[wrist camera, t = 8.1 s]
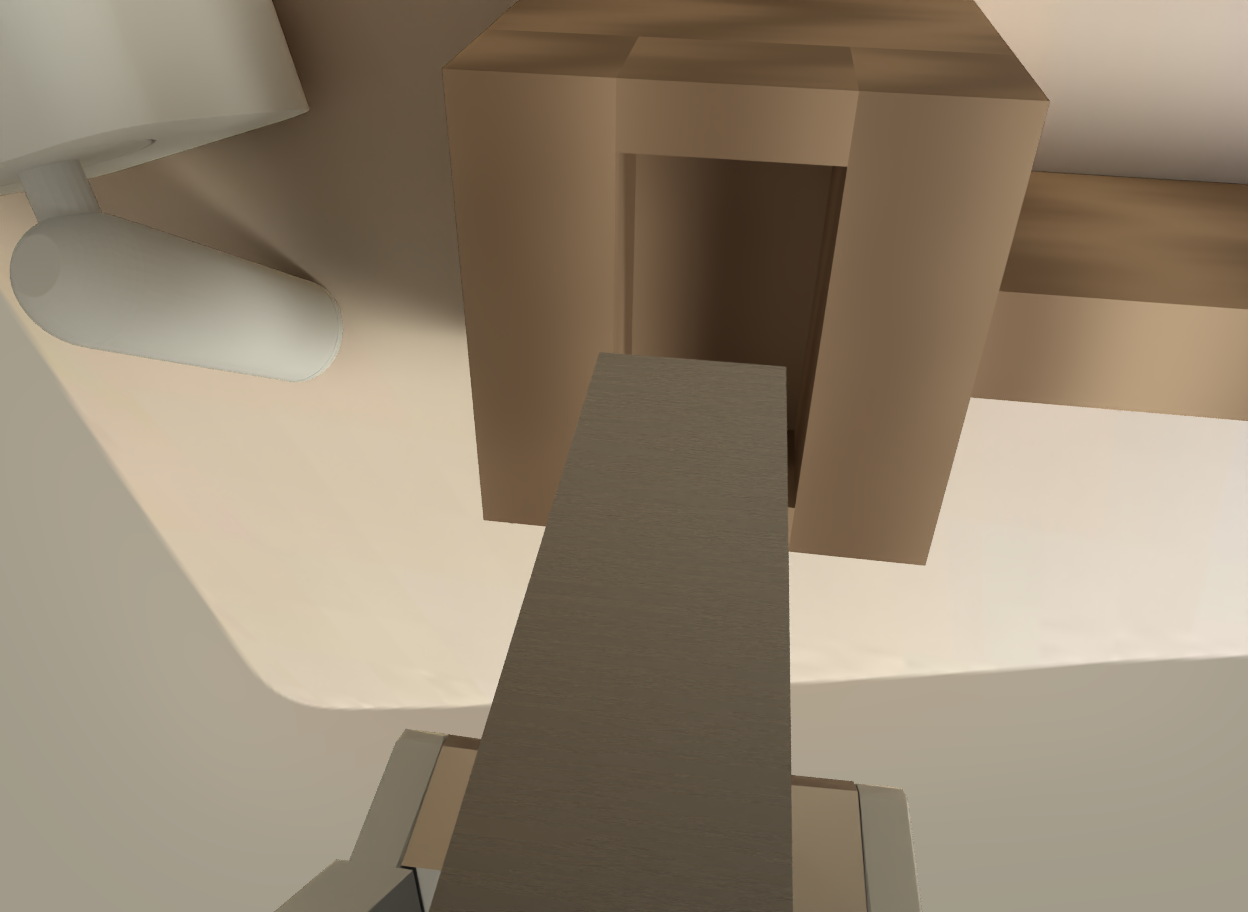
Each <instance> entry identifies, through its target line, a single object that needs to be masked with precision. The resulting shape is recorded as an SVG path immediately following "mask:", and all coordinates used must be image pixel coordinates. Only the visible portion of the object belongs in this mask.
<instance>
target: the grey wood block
mask: <svg viewBox="0 0 1248 912" xmlns="http://www.w3.org/2000/svg"><path fill="white" fill-rule="evenodd" d="M790 719H791V716H790V635H789V555H788V474H787V393H786V367H784V366H771V365H758V364H746V363H733V362H720V361H707V360H695V359H682V358H669V357H656V356H644V355H631V354H618V353H605V352H599V355H598V358H597V361H596V364H595V368H594V371H593V374H592V378H591V381H590V384H589V387H588V391H587V394H586V397H585V401H584V404H583V407H582V410H581V414H580V417H579V420H578V424H577V427H576V430H575V433H574V437H573V440H572V443H571V446H570V450H569V453H568V456H567V460H566V463H565V466H564V469H563V473H562V476H561V479H560V483H559V486H558V489H557V492H556V496H555V499H554V502H553V505H552V509H551V512H550V515H549V519H548V522H547V525H546V528H545V532H544V535H543V538H542V542H541V545H540V548H539V551H538V555H537V558H536V561H535V565H534V568H533V571H532V574H531V578H530V581H529V584H528V587H527V591H526V594H525V597H524V601H523V604H522V607H521V610H520V614H519V617H518V620H517V624H516V627H515V630H514V633H513V637H512V640H511V643H510V647H509V650H508V653H507V656H506V660H505V663H504V666H503V669H502V673H501V676H500V679H499V683H498V686H497V689H496V692H495V696H494V699H493V702H492V706H491V709H490V712H489V715H488V719H487V722H486V725H485V729H484V732H483V735H482V738H481V742H480V745H479V748H478V751H477V755H476V758H475V761H474V765H473V768H472V771H471V774H470V778H469V781H468V784H467V788H466V791H465V794H464V797H463V801H462V804H461V807H460V811H459V814H458V817H457V820H456V824H455V827H454V830H453V833H452V837H451V840H450V843H449V847H448V850H447V853H446V856H445V860H444V863H443V866H442V870H441V873H440V876H439V879H438V883H437V886H436V889H435V892H434V896H433V899H432V902H431V906H430V909H429V912H793V878H792V797H791V720H790Z"/></svg>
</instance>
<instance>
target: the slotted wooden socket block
mask: <svg viewBox="0 0 1248 912" xmlns="http://www.w3.org/2000/svg"><path fill="white" fill-rule="evenodd" d="M442 75H443V86H444V96H445V107H446V118H447V129H448V140H449V150H450V161H451V172H452V183H453V194H454V204H455V215H456V226H457V237H458V248H459V258H460V269H461V280H462V291H463V302H464V312H465V323H466V334H467V345H468V356H469V367H470V377H471V388H472V399H473V410H474V421H475V431H476V442H477V453H478V464H479V475H480V485H481V496H482V507H483V518H484V520H489V521H498V522H508V523H518V524H528V525H537V526H546V525H547V522H548V519H549V515H550V512H551V509H552V505H553V502H554V499H555V496H556V492H557V489H558V486H559V483H560V479H561V476H562V473H563V469H564V466H565V463H566V460H567V456H568V453H569V450H570V446H571V443H572V440H573V437H574V433H575V430H576V427H577V424H578V420H579V417H580V414H581V410H582V407H583V404H584V401H585V397H586V394H587V391H588V387H589V384H590V381H591V378H592V374H593V371H594V368H595V364H596V361H597V358H598V355H599V352H605V353H618V354H631V355H644V356H656V357H669V358H682V359H695V360H707V361H720V362H733V363H746V364H758V365H771V366H784V367H786V393H787V474H788V551H789V552H799V553H808V554H818V555H828V556H838V557H847V558H857V559H867V560H876V561H886V562H896V563H905V564H915V565H925V564H926V561H927V557H928V553H929V549H930V546H931V542H932V538H933V535H934V531H935V527H936V523H937V520H938V516H939V512H940V509H941V505H942V501H943V497H944V494H945V490H946V486H947V482H948V479H949V475H950V471H951V468H952V464H953V460H954V456H955V453H956V449H957V445H958V442H959V438H960V434H961V430H962V427H963V423H964V419H965V416H966V412H967V408H968V404H969V401H970V397H973V398H984V399H996V400H1008V401H1020V402H1032V403H1043V404H1055V405H1067V406H1079V407H1090V408H1102V409H1114V410H1126V411H1137V412H1149V413H1161V414H1173V415H1184V416H1196V417H1208V418H1220V419H1231V420H1243V421H1248V185H1246V184H1229V183H1213V182H1196V181H1180V180H1164V179H1147V178H1131V177H1114V176H1098V175H1081V174H1065V173H1049V172H1032V171H1031V170H1032V166H1033V163H1034V159H1035V155H1036V151H1037V148H1038V144H1039V140H1040V137H1041V133H1042V129H1043V125H1044V122H1045V118H1046V114H1047V110H1048V107H1049V103H1050V101H1049V99H1048V98H1047V97H1046V95H1045V94H1044V93H1043V91H1042V90H1041V89H1040V87H1039V86H1038V85H1037V83H1036V82H1035V81H1034V79H1033V78H1032V77H1031V76H1030V74H1029V73H1028V72H1027V70H1026V69H1025V68H1024V66H1023V65H1022V64H1021V62H1020V61H1019V60H1018V58H1017V57H1016V56H1015V54H1014V53H1013V52H1012V50H1011V49H1010V48H1009V46H1008V45H1007V44H1006V42H1005V41H1004V40H1003V38H1002V37H1001V36H1000V35H999V33H998V32H997V31H996V29H995V28H994V27H993V25H992V24H991V23H990V21H989V20H988V19H987V17H986V16H985V15H984V13H983V12H982V11H981V9H980V8H979V7H978V5H977V4H976V3H975V1H974V0H519V1H518V2H516V3H515V4H514V5H513V6H512V7H511V8H510V9H509V10H507V11H506V12H505V13H504V14H503V15H502V16H501V17H500V18H498V19H497V20H496V21H495V22H494V23H493V24H492V25H491V26H489V27H488V28H487V29H486V30H485V31H484V32H483V33H482V34H480V35H479V36H478V37H477V38H476V39H475V40H474V41H473V42H471V43H470V44H469V45H468V46H467V47H466V48H465V49H464V50H462V51H461V52H460V53H459V54H458V55H457V56H456V57H455V58H453V59H452V60H451V61H450V62H449V63H448V64H447V65H446V66H444V67H443V68H442Z"/></svg>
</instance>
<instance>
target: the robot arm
mask: <svg viewBox="0 0 1248 912" xmlns="http://www.w3.org/2000/svg"><path fill="white" fill-rule="evenodd" d="M480 742H481V739H478V738H471V737H463V736H456V735H450V734H444V733H436V732H427V731H418V730H410V729H405V731H404V732H403V733H402V735H401V736H400V737H399V739H398V740H397V742H396V743H395V746H394V748H393V751H392V753H391V756H390V759H389V761H388V764H387V766H386V769H385V771H384V774H383V776H382V779H381V782H380V784H379V786H378V789H377V792H376V794H375V797H374V799H373V802H372V804H371V807H370V809H369V812H368V814H367V817H366V820H365V822H364V825H363V827H362V829H361V832H360V835H359V837H358V840H357V842H356V845H355V848H354V850H353V852H352V855H351V858H350V860H339V859H336V860H335V861H334V862H333V863H332V864H330V865H329V866H328V867H327V868H325V869H324V870H323V871H322V872H321V873H319V874H318V875H317V876H316V877H315V878H314V879H312V880H311V881H310V882H309V883H308V884H307V885H305V886H304V887H303V888H302V889H301V890H299V891H298V892H297V893H296V894H295V895H293V896H292V897H291V898H290V899H289V900H287V901H286V902H285V903H284V904H283V905H282V906H280V907H279V908H278V909H277V910H276V911H274V912H429V909H430V906H431V902H432V899H433V896H434V892H435V889H436V886H437V883H438V879H439V876H440V873H441V870H442V866H443V863H444V860H445V856H446V853H447V850H448V847H449V843H450V840H451V837H452V833H453V830H454V827H455V824H456V820H457V817H458V814H459V811H460V807H461V804H462V801H463V797H464V794H465V791H466V788H467V784H468V781H469V778H470V774H471V771H472V768H473V765H474V761H475V758H476V755H477V751H478V748H479V745H480ZM791 797H792V878H793V912H922V906H921V898H920V891H919V883H918V875H917V868H916V859H915V851H914V843H913V836H912V828H911V821H910V813H909V804H908V798H907V797H906V795H905V793H904V791H903V789H901V788H896V787H885V786H875V785H865V784H854V782H852V781H843V780H833V779H823V778H814V777H803V776H795V775H791Z"/></svg>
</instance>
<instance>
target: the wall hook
mask: <svg viewBox="0 0 1248 912" xmlns="http://www.w3.org/2000/svg"><path fill="white" fill-rule="evenodd" d="M309 110H310V109H309V106H308V103H307V101H306V98H305V95H304V92H303V89H302V86H301V83H300V80H299V77H298V75H297V72H296V69H295V66H294V63H293V60H292V57H291V54H290V51H289V49H288V46H287V43H286V40H285V37H284V34H283V31H282V28H281V25H280V23H279V20H278V17H277V14H276V11H275V8H274V5H273V2H272V0H0V196H1V195H7V194H13V193H19V192H25V193H26V195H27V198H28V200H29V202H30V204H31V207H32V209H33V211H34V213H35V216H36V218H37V220H38V222H39V223H38V224H36V225H35V226H33V227H32V228H31V229H30V230H28V231H27V232H26V233H25V234H24V235H23V237H22V238H21V239H20V240H19V242H18V243H17V245H16V247H15V249H14V252H13V254H12V258H11V263H10V280H11V285H12V288H13V291H14V294H15V296H16V298H17V300H18V302H19V303H20V305H21V307H22V308H23V309H24V311H25V312H26V313H27V315H28V316H29V317H30V318H31V319H32V320H33V321H34V322H35V323H36V324H37V325H38V326H40V327H41V328H42V329H43V330H45V331H46V332H48V333H49V334H51V335H53V336H54V337H56V338H58V339H61V340H63V341H65V342H68V343H71V344H73V345H77V346H82V347H87V348H91V349H97V350H103V351H108V352H114V353H120V354H126V355H132V356H138V357H144V358H150V359H156V360H162V361H168V362H173V363H179V364H185V365H192V366H198V367H204V368H210V369H216V370H222V371H228V372H234V373H240V374H246V375H252V376H258V377H264V378H270V379H276V380H283V381H289V382H304V381H308V380H311V379H313V378H315V377H317V376H318V375H320V374H321V373H323V372H324V371H325V370H326V369H327V368H328V367H329V366H330V364H331V363H332V362H333V360H334V359H335V357H336V355H337V353H338V351H339V348H340V345H341V341H342V334H343V322H342V316H341V312H340V309H339V307H338V304H337V302H336V301H335V299H334V298H333V296H332V295H331V294H330V293H329V292H328V291H327V290H326V289H325V288H323V287H322V286H320V285H319V284H316V283H314V282H311V281H308V280H305V279H302V278H299V277H296V276H293V275H290V274H287V273H284V272H281V271H278V270H275V269H272V268H269V267H267V266H264V265H261V264H258V263H255V262H252V261H249V260H246V259H243V258H240V257H237V256H234V255H231V254H228V253H225V252H222V251H219V250H216V249H213V248H210V247H207V246H204V245H201V244H198V243H195V242H192V241H189V240H186V239H183V238H180V237H177V236H174V235H171V234H169V233H166V232H163V231H160V230H157V229H154V228H151V227H148V226H145V225H142V224H138V223H135V222H132V221H129V220H126V219H123V218H120V217H116V216H113V215H110V214H106V213H102V212H101V209H100V207H99V205H98V202H97V200H96V198H95V196H94V193H93V191H92V189H91V186H90V184H89V182H88V180H87V179H90V178H94V177H98V176H102V175H106V174H110V173H113V172H117V171H120V170H123V169H127V168H130V167H133V166H136V165H140V164H143V163H146V162H150V161H153V160H156V159H159V158H163V157H166V156H169V155H172V154H176V153H179V152H182V151H185V150H189V149H192V148H195V147H199V146H202V145H205V144H208V143H212V142H215V141H218V140H221V139H225V138H228V137H231V136H235V135H238V134H241V133H244V132H248V131H251V130H254V129H257V128H261V127H264V126H267V125H270V124H274V123H277V122H280V121H284V120H287V119H289V118H292V117H295V116H298V115H301V114H303V113H305V112H307V111H309Z"/></svg>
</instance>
